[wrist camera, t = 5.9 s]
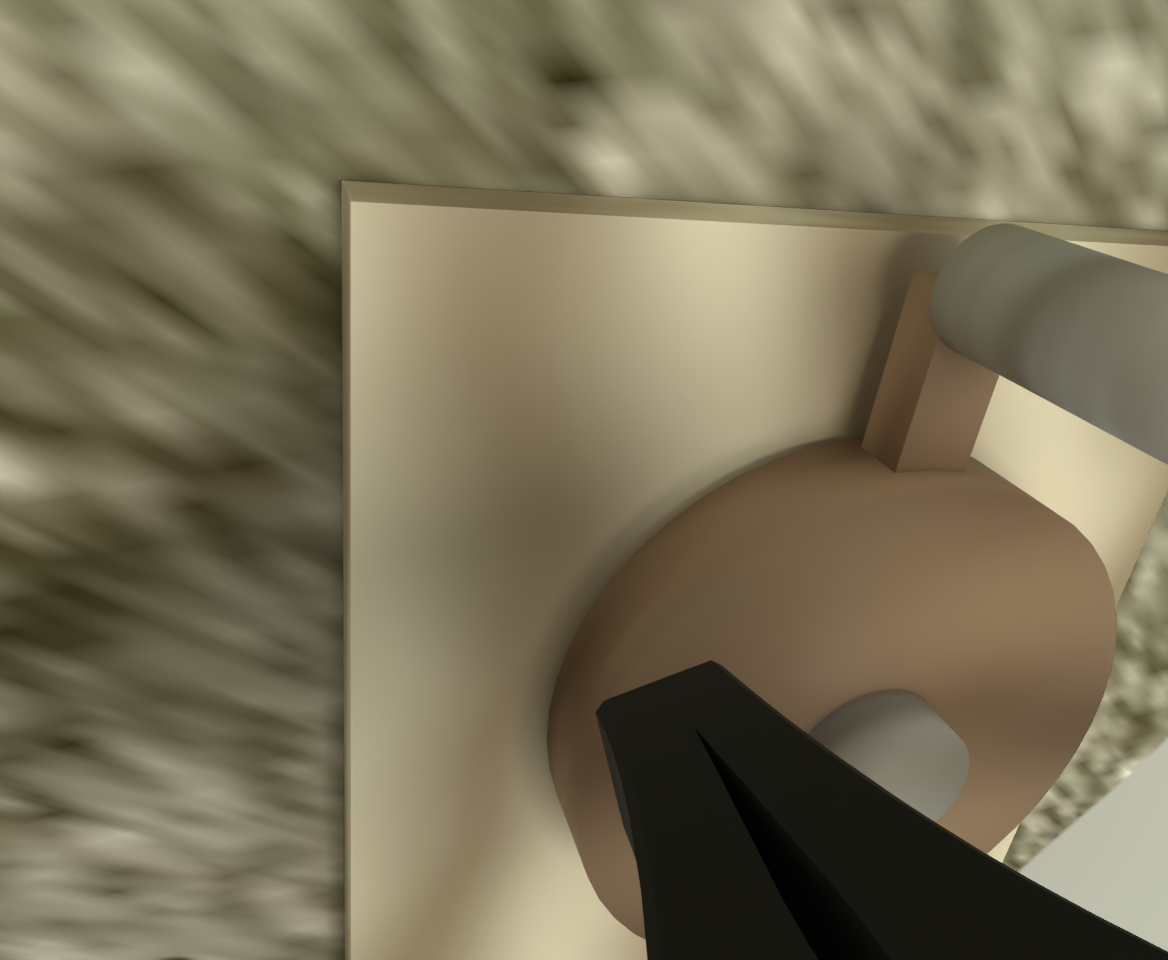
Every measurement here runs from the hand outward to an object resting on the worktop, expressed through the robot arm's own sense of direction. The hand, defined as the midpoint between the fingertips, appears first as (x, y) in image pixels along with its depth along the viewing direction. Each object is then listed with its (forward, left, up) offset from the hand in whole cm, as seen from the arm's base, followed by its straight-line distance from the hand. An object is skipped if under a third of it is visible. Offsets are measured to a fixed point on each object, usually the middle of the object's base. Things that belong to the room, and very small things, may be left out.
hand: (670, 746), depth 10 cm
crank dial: (+6, -3, -6) cm, 9 cm away
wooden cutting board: (+6, -5, -8) cm, 11 cm away
